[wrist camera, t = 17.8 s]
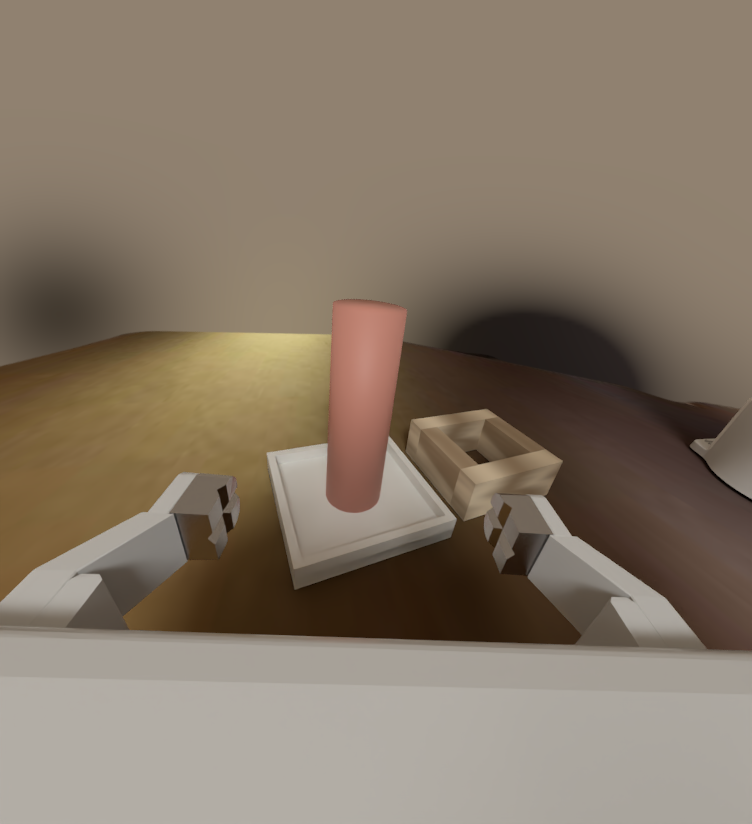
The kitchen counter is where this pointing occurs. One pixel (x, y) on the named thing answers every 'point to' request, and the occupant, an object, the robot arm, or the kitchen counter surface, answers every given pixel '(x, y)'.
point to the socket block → (466, 480)
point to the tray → (351, 515)
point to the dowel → (361, 399)
